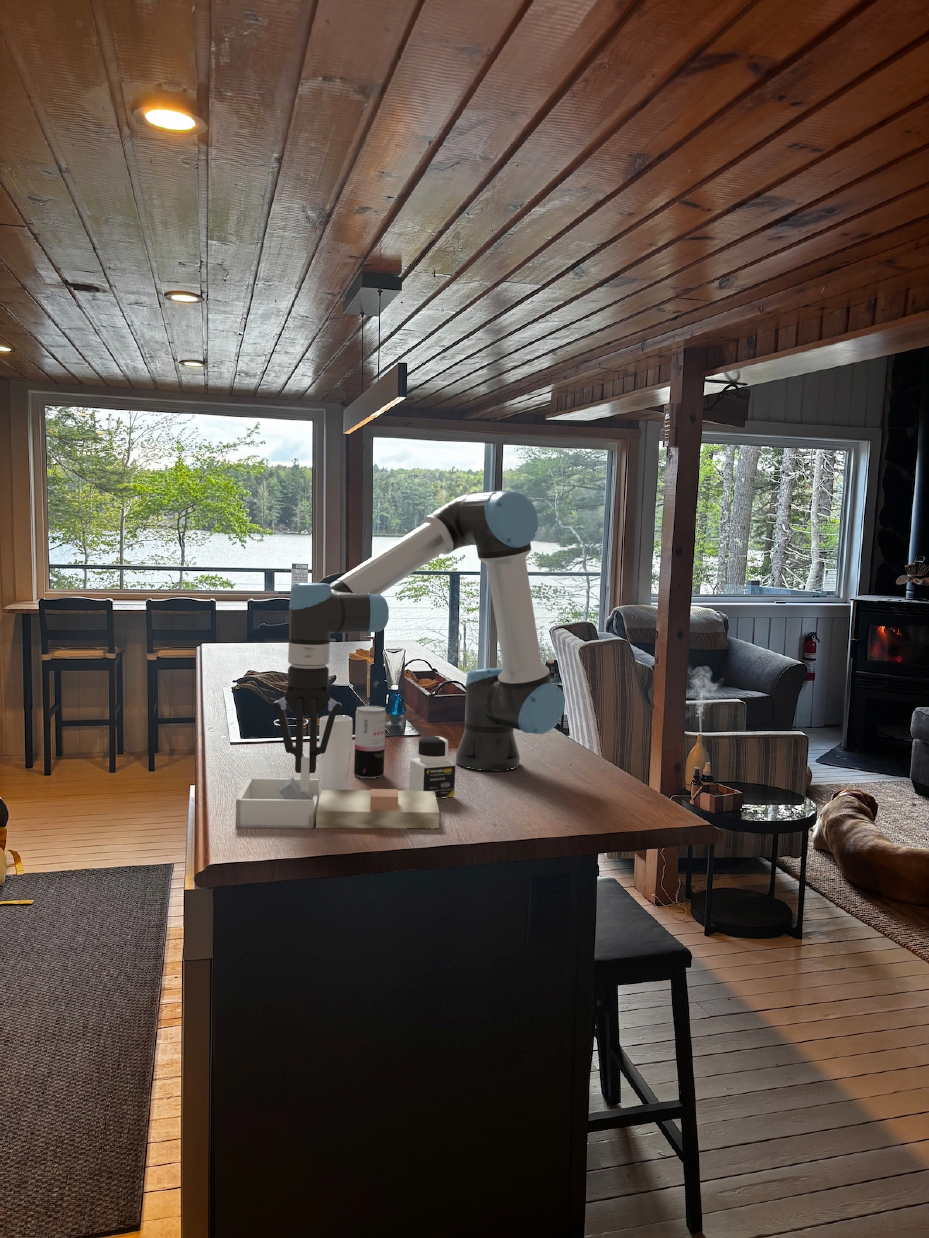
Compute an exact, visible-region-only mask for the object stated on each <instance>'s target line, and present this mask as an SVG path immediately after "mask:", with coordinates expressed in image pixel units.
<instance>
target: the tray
mask: <svg viewBox="0 0 929 1238" xmlns="http://www.w3.org/2000/svg"><path fill="white" fill-rule="evenodd" d="M290 778H291V777H290ZM290 778H289V777H287V778H282V777H281V778H278V777H277V778H276V777H248V778H247V780H246V782H245V783H244V785H243V787H242V788H241V791H240V793H239V794H238V796H237V798H236V799H235V829H238V828H239V829H311V828H313V829H314V826H315V823H316V811H317V807H318V802H319V798H320V778H310V788H309V792H304V793H305V794H306V796H307V797H308V799H307V800H299V799H284V798H283V797H282V795H281V794H280V793H279V790H280V788H281V785H282V784H283V783H285V782H286V781H287V780H289V779H290ZM294 779H295V781H296V782H297V783H298V785H299V786H300V788H301V778H294Z"/></svg>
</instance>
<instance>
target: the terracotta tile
mask: <svg viewBox="0 0 929 1238" xmlns="http://www.w3.org/2000/svg"><path fill="white" fill-rule="evenodd" d="M370 790H371V797H370V810H398V791H399V789H398V788H394V789H391V788H390V789H389V788H388V789H387V788H385V789H384V788H370Z"/></svg>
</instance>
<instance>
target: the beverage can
mask: <svg viewBox="0 0 929 1238" xmlns="http://www.w3.org/2000/svg"><path fill="white" fill-rule="evenodd" d="M386 717H387V711H386V707H383V706H378V705H362V706H357V707H356V711H355V733H354V761H353V762H354V764H353V766H354V767H353V774H354V776H356V777H357V778H359V777H360V779H365V778H374V779H377V778H376V777H379V778H380V777H382V776H383V775H384V774H385V773H384V772H385V750H386V749H385V747H386V723H387V722H386V720H387V718H386Z"/></svg>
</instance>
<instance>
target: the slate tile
mask: <svg viewBox="0 0 929 1238" xmlns="http://www.w3.org/2000/svg"><path fill="white" fill-rule="evenodd" d="M295 779H296V778H295V777H293V776H292V777H290V779H289V780H287V781H286V782H285V783H283V784H282V785H281V788H280V790H279V793H280V794H281V795H282V797H283V798H284V799H299V800H307V799H308V797H307V796H306V794H305V793H304V792H300V789H301V788H300V786H299V785H298V783H297V782H296V781H295Z"/></svg>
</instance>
